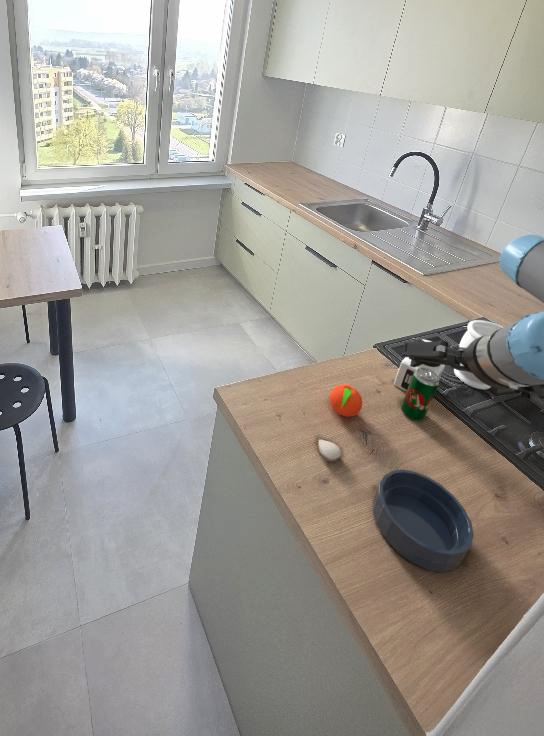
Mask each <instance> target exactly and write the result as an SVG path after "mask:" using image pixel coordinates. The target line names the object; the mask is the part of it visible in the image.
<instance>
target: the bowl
mask: <svg viewBox="0 0 544 736" xmlns="http://www.w3.org/2000/svg"><path fill="white" fill-rule="evenodd" d="M372 514H373V517H374V521H375V524H376V526H377V528H378V529H379V531H380V532H381V535H382V536H383V538H384V539H385V540H386V541H387V542H388V544H390V546H391V547H392V548H393V549H394V550H395V551H396V552H397V553H398V554H399V555H401V556H402V557H403V558H404V559H406V560H408V561H409V562H410V563H412V564H414V565H416V566H419V567H420V568H422V569H425V570H427V571H432V572H437V573H444V572H449V571H454V570H455V569H456V568H457V567H459V566H460V564H462V562H463V561H464V558H465V557H466V556H467V554H468V552H469V550H470V548H471V546H472V543H473V540H474V534H475V533H474V530H473V524H472V523H473V522H472V520H471V519H470V517H469V515H468V513H467V511H466V509H465V507H464V506H463V505H462V504H461V502H460V501H459V500H458V499H457V498H456V496H455V495H454V494H453V493H451V492H450V491H449V490H448V489H447V488H446V487H445V486H444V485H442V484H441V483H439V482H437V481H436V480H435V479H432V478H431V477H429V476H427V475H425V474H422V473H420V472H417V471H415V470H410V469H409V470H408V469H394V470H390V471H389V472H387V473H386V474H385V475H383V477H382V478H381V480H380V483H379V485H378V487H377V490H376V492H375V495H374V498H373V499H372Z"/></svg>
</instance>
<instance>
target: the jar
mask: <svg viewBox="0 0 544 736" xmlns="http://www.w3.org/2000/svg"><path fill="white" fill-rule="evenodd" d="M466 326H467V327H466V328H467V330H466V332H465V333H464V334H463V335H462V337H461V340H460V342H459V344H458V347H463V348H467V347H468V346H469V344H470V343H471V342H472V341H474V340H475V339H477V338H479V337H481V336H484V335H486V334H488V333H490V332H492V331H495V330H497V329H500V328H503V327H504V326H503V325H500V324H498V323H496V322H495V323H494V322H492V321H488V320H484V319H474V320H473V319H472V320H470V321H469V322H468V323H467V325H466ZM460 366H464V365H462V364H461V363H460ZM453 373H454V375H455V377H456V378H457V377H458V378H459V379H460V380H459V379H458V378H457V379H458V380H459V381H461V382H462V383H463V382H464V383H463V384H465V385H467V386H468V387H471V388H474V389H478V390H489V389H491V388H492V387H491V386H488V385H486V384H485V383H483V382H481V381H480V380H479V379H478V378H477V377H476V376H475V375H474V374H472V373H470V372H467V371H460V370H456V369H454V368H453Z"/></svg>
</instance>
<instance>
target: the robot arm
mask: <svg viewBox="0 0 544 736" xmlns="http://www.w3.org/2000/svg"><path fill="white" fill-rule="evenodd" d="M498 261H499V263H498V264H499V268H500V270H501V271H502V272H503V274H504V275H506V276H507V277H508V278H509V280H511V281H512V282H513V283H514V284H515V285H516V286H517V287H519V288H521V289H522V290H524V291H525V292H527V293H529V294H530V295H531V296H532V297H534V298H535V299H537V300H538V301H540V302H541V303H542V304H544V236H541V235H537V234H525V235H522V236H519V237H517V238H514V239H513V240H511V241H510V242H509V243H508V244H506V245H505V247H504V248H503V250H502V251H501V252H500V255H499V260H498ZM502 327H503V328H500V329H497V330H495V331H492V332H490V333H488V334H486V335H484V336H481V337H479V338H477V339H475V340H474V341H472V342H471V343H470V344H469V346H468V347H467V348H463V347H459V346H453V347H450V345H449V344H450V343H449V342H448V341H446V340H438V341H431V342H418V341H417V340H415V341H416V342H415V341H404V342H403V348H402V354H401V355H402V357H404V358H405V357H409V359H411V364H410V366H411V367H417V366H420V365H422V364H424V362H428V363H435V364H442V365H445V366H449V367H451V368H452V369H453V370H454V369H456V370H460V371H467V372H470V373H472V374H474V375H475V376H476V377H477V378H478V379H479V380H480V381H481V382H483V383H485V384H486V385H488V386H491V387H490V388H493V389H497V391H496V394H498V395H501V396H506V395H515V394H520V398H522V399H525V400H531V399H532V393H533V394H535V395H536V397H537V398H539V399H542V400H544V311H538V312H534V313H531V314H528V315H525V316H522V317H521V318H520V320H517V321H515V322H513V323H510V324H508V325H506V326H502ZM460 363H461V364H462V365H464V366H460Z"/></svg>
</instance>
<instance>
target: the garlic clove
mask: <svg viewBox="0 0 544 736" xmlns="http://www.w3.org/2000/svg"><path fill="white" fill-rule="evenodd" d="M318 450H319V453H320V456H321V457H322V458H323V459H324V460H325V461H327V462H331V463H332V462H337V461H338V460H339V459H340V458H341V455H342V451H341V448H340V447H339V446H338V444H336V443H334V442H331V441H329V440H328V441H327V440H324V439H318Z"/></svg>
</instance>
